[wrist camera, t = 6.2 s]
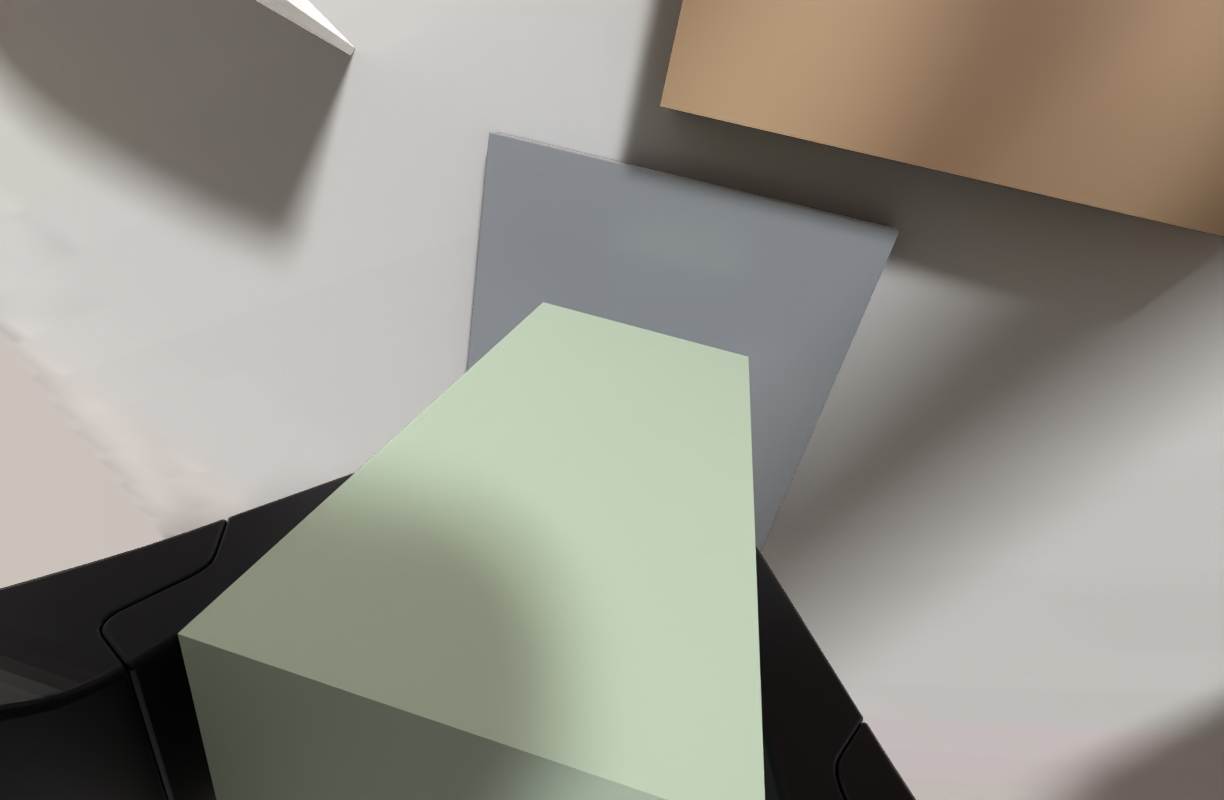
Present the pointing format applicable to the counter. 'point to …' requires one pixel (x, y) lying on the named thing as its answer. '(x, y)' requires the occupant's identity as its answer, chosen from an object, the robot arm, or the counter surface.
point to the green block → (511, 594)
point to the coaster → (682, 278)
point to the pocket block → (981, 90)
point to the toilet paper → (310, 21)
